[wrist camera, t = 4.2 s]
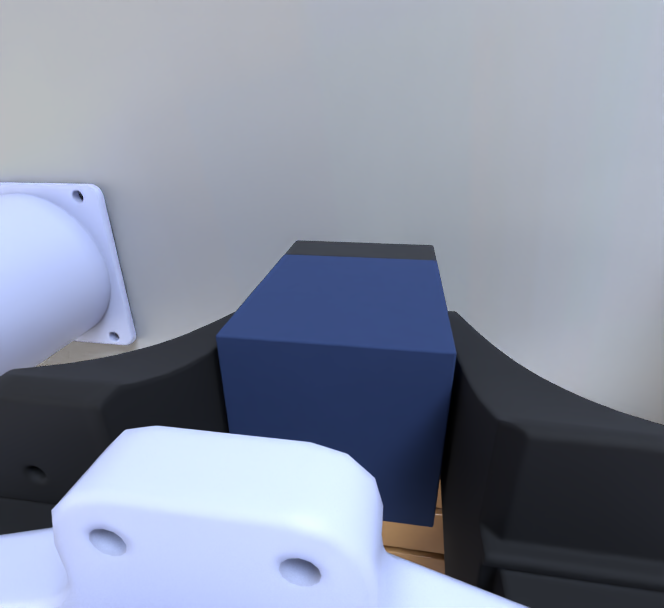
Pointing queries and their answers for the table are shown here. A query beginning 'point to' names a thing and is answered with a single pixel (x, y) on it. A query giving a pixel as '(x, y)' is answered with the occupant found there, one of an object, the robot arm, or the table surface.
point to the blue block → (349, 363)
